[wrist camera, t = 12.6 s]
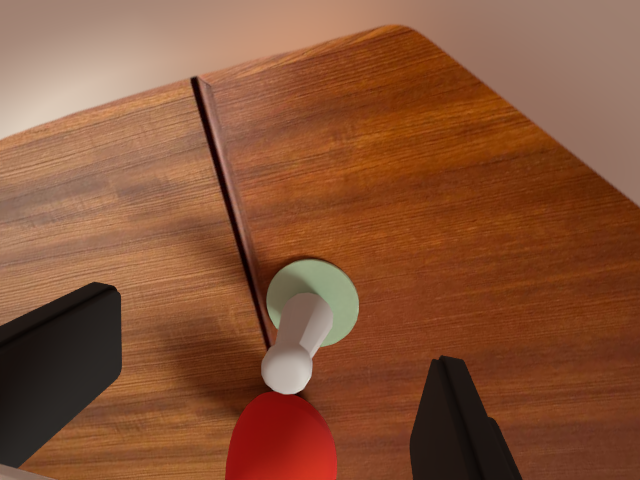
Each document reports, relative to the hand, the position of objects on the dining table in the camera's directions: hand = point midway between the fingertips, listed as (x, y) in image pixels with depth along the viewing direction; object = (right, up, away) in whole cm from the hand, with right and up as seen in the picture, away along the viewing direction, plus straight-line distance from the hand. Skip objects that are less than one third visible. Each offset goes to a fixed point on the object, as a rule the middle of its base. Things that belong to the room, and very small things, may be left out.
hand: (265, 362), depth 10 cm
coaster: (+1, -4, +31) cm, 31 cm away
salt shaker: (+1, -5, +31) cm, 31 cm away
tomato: (-2, -19, +35) cm, 40 cm away
